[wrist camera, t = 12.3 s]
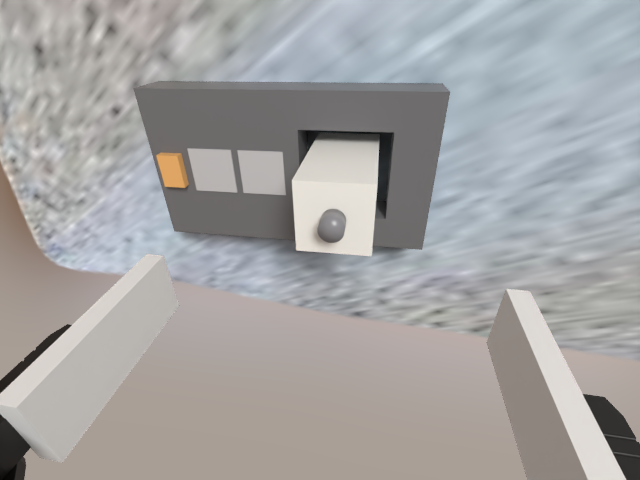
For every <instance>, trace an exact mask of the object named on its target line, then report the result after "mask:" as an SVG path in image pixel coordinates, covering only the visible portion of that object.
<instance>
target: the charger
mask: <svg viewBox="0 0 640 480" xmlns="http://www.w3.org/2000/svg"><path fill="white" fill-rule="evenodd" d="M379 136H380V134H354V133H319V134H318V135H317V137H316V139H315V141H314V142H313V144H312V146H311V148H310V149H309V151H308V153H307V155H306V156H305V158H304V160H303V162H302V163H301V165H300V167H299V169H298V170H297V172H296V174H295V176H294V177H293V179H292V193H293V208H294V224H295V239H296V250H297V251H310V252H323V253H336V254H349V255H362V256H372V246H373V234H374V222H375V210H376V197H377V185H378V161H379Z"/></svg>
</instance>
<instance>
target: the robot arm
mask: <svg viewBox="0 0 640 480" xmlns="http://www.w3.org/2000/svg"><path fill="white" fill-rule="evenodd" d="M178 307H179V303H178V299H177V296H176V293H175V290H174V287H173V284H172V280H171V277H170V274H169V271H168V268H167V265H166V261H165V258H164V256H161V255H151V254H146V255H145V256H144V257H143V258H142V259H141V260H140V261H139V262H138V263H137V264H136V265H135V266H134V267H133V268H132V269H131V270H130V271H128V272H127V273H126V274H125V275H124V276H123V277H122V278H121V279H120V280H119V281H118V282H117V283H116V284H115V285H114V286H113V287H112V288H111V289H110V290H109V291H108V292H107V293H105V294H104V295H103V296H102V297H101V298H100V299H99V300H98V301H97V302H96V303H95V304H94V305H93V306H92V307H91V308H90V309H89V310H88V311H87V312H85V313H84V314H83V315H82V316H81V317H80V318H79V319H78V320H77V321H76V322H75V323H74V324H73V325H68V324H67V325H66V326H64V327H62V328H61V329H59V330H57V331H56V332H54V333H52V334H51V335H50V336H48V338H46V339H45V340H44V341H43V342H42V343H41V344H40V345H39V346H37V347H36V350H35V351H32V352H31V353H30V354H29V355H28V356H27V357H25V358H24V361H21V362H20V363H19V364H18V365H17V366H16V367H15V368H14V369H13V370H11V371H10V372H9V373H8V374H7V375H6V376H5V377H4V378H3V379H2V380H0V480H24V476H25V469H26V462H25V458H24V457H23V456H24V455H25V453H26V452H27V451H28V450H29V449H30V448H32V450H33V451H34V452H35V453H36V454H37V455H38V456H39V457H40V458H43V459H48V460H53V461H57V462H63V461H64V460H65V459H66V457H67V456H68V455H69V453H70V452H71V451H72V449H73V448H74V447H75V445H76V444H77V443H78V441H79V440H80V439H81V437H82V436H83V434H84V433H85V432H86V430H87V429H88V428H89V426H90V425H91V424H92V422H93V421H94V419H95V418H96V417H97V416H98V414H99V413H100V412H101V410H102V409H103V408H104V406H105V405H106V404H107V402H108V401H109V400H110V398H111V397H112V396H113V394H114V393H115V391H116V390H117V389H118V387H119V386H120V385H121V383H122V382H123V381H124V379H125V378H126V377H127V375H128V374H129V373H130V371H131V370H132V369H133V367H134V366H135V365H136V363H137V362H138V361H139V359H140V358H141V357H142V355H143V354H144V352H145V351H146V350H147V348H148V347H149V346H150V344H151V343H152V342H153V341H154V339H155V338H156V336H157V335H158V334H159V332H160V331H161V330H162V328H163V327H164V326H165V324H166V323H167V322H168V320H169V319H170V318H171V316H172V315H173V314H174V312H175V311H176V309H177V308H178ZM487 345H488V349H489V352H490V355H491V359H492V362H493V366H494V369H495V372H496V375H497V379H498V382H499V386H500V389H501V392H502V396H503V399H504V403H505V406H506V409H507V413H508V416H509V419H510V423H511V426H512V430H513V433H514V436H515V440H516V443H517V447H518V450H519V453H520V457H521V460H522V463H523V467H524V470H525V474H526V477H527V480H640V444H639V442H637V441H636V437H635V435H634V434H633V432H632V430H631V428H630V427H629V425H628V423H627V422H626V420H625V418H624V417H623V415H622V414H621V413H620V412H619V411H618V410H617V409H615V407H614V406H613V405H612V404H611V403H610V402H609V401H608V400H606V398H605V397H600V396H593V395H585V394H582V392H581V390H580V388H579V386H578V384H577V383H576V381H575V379H574V377H573V375H572V373H571V371H570V369H569V367H568V365H567V363H566V361H565V359H564V357H563V355H562V353H561V351H560V349H559V347H558V345H557V343H556V341H555V339H554V338H553V336H552V334H551V332H550V330H549V328H548V326H547V324H546V322H545V320H544V318H543V316H542V314H541V312H540V310H539V308H538V306H537V304H536V302H535V300H534V298H533V297H532V295H531V293H530V291H523V290H512V289H506V291H505V294H504V296H503V299H502V302H501V305H500V307H499V310H498V313H497V316H496V318H495V321H494V324H493V327H492V329H491V332H490V335H489V338H488V340H487Z"/></svg>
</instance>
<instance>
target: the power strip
mask: <svg viewBox="0 0 640 480" xmlns="http://www.w3.org/2000/svg"><path fill="white" fill-rule="evenodd" d="M134 92H135V95H136V99H137V102H138V106H139V109H140V113H141V116H142V120H143V123H144V127H145V130H146V134H147V137H148V141H149V144H150V148H151V151H152V155H153V158H154V161H155V165H156V168H157V172H158V175H159V179H160V182H161V186H162V189H163V193H164V196H165V200H166V203H167V207H168V210H169V214H170V217H171V221H172V224H173V228H174V231H179V232H192V233H206V234H219V235H233V236H246V237H260V238H273V239H287V240H296V239H295V224H294V208H293V193H292V179H293V177H294V176H295V174H296V172H297V170H298V169H299V167H300V165H301V163H302V162H303V160H304V158H305V156H306V155H307V130H322V131H358V132H392V140H391V150H390V161H389V171H388V181H387V191H386V201H381V200H376V210H375V222H374V234H373V246H381V247H395V248H408V249H422V247H423V241H424V236H425V230H426V224H427V219H428V213H429V207H430V202H431V196H432V190H433V185H434V179H435V174H436V168H437V162H438V157H439V151H440V145H441V140H442V134H443V129H444V123H445V117H446V112H447V106H448V100H449V95H450V91H449V90H448V89H447V88H446V87H445V86H444V85H443V84H427V83H306V82H185V81H158V82H154V83H150V84H147V85H143V86H140V87H136V88H134Z"/></svg>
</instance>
